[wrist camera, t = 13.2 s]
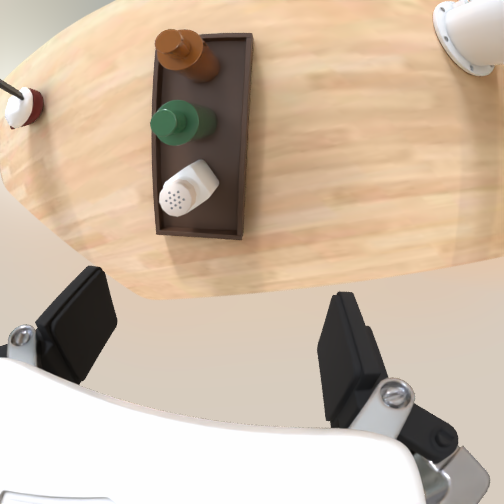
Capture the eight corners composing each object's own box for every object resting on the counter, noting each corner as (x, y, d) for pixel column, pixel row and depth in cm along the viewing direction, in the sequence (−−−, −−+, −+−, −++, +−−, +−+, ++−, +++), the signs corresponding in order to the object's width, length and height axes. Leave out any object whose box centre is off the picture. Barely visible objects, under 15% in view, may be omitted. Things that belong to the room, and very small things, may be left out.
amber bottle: (186, 53, 25) (145, 23, 14) (221, 51, 25) (196, 15, 14) (184, 84, 27) (140, 67, 16) (219, 82, 27) (191, 61, 16)
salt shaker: (178, 175, 32) (146, 195, 23) (203, 156, 31) (178, 169, 22) (196, 200, 33) (171, 228, 25) (222, 183, 32) (204, 206, 24)
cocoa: (25, 133, 29) (-28, 147, 19) (20, 101, 27) (-31, 109, 16) (59, 109, 28) (1, 116, 17) (55, 74, 25) (-2, 73, 15)
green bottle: (183, 106, 28) (139, 99, 17) (218, 105, 28) (189, 95, 17) (182, 139, 30) (138, 150, 19) (217, 139, 30) (188, 148, 19)
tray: (162, 43, 25) (156, 39, 23) (253, 38, 24) (252, 33, 22) (161, 228, 36) (156, 234, 34) (243, 233, 36) (241, 240, 34)
